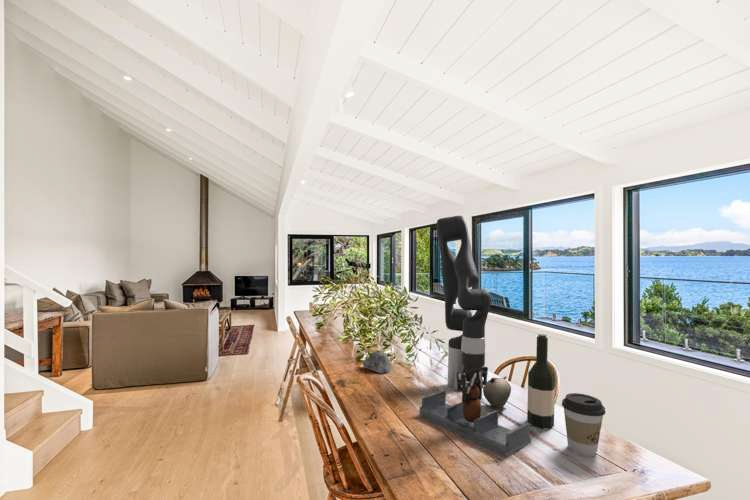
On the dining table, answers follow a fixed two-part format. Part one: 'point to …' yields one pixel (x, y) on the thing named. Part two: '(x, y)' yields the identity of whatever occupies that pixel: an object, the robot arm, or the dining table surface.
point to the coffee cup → (583, 422)
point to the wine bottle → (541, 389)
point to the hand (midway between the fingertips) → (471, 401)
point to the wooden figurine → (472, 404)
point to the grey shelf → (475, 426)
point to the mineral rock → (377, 362)
